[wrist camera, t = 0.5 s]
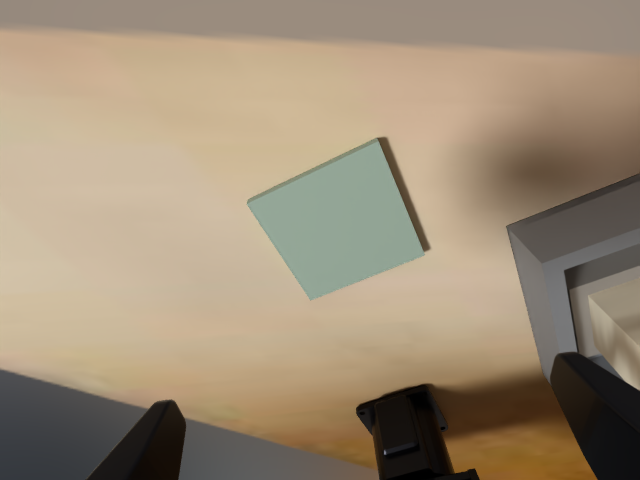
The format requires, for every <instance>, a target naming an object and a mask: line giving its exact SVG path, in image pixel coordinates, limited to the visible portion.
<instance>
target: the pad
mask: <svg viewBox="0 0 640 480" xmlns="http://www.w3.org/2000/svg"><path fill="white" fill-rule="evenodd" d="M247 205H248V207H249V208H250V210H251V211H252V213H253V214H254V216H255V217H256V219H257V220H258V222H259V223H260V225H261V226H262V228H263V229H264V231H265V232H266V234H267V235H268V237H269V239H270V240H271V242H272V243H273V245H274V246H275V248H276V249H277V251H278V252H279V254H280V255H281V257H282V258H283V260H284V261H285V263H286V264H287V266H288V267H289V269H290V270H291V272H292V273H293V275H294V276H295V278H296V279H297V281H298V282H299V284H300V285H301V287H302V288H303V290H304V291H305V293H306V294H307V296H308V297H309V299H310V300H313V299H315V298H318V297H321V296H323V295H326V294H328V293H331V292H333V291H336V290H338V289H341V288H343V287H346V286H348V285H351V284H353V283H356V282H358V281H361V280H364V279H366V278H369V277H371V276H374V275H376V274H379V273H381V272H384V271H386V270H389V269H391V268H394V267H396V266H399V265H401V264H404V263H406V262H409V261H412V260H414V259H417V258H419V257H422V256H424V255H425V254H424V251H423V249H422V247H421V244H420V242H419V239H418V237H417V234H416V232H415V229H414V227H413V224H412V222H411V220H410V217H409V215H408V212H407V210H406V207H405V205H404V202H403V200H402V197H401V195H400V193H399V190H398V188H397V185H396V183H395V180H394V178H393V175H392V173H391V170H390V168H389V165H388V163H387V161H386V158H385V156H384V153H383V151H382V148H381V146H380V143H379V141H378V139H377V138H375V139H373V140H371V141H369V142H367V143H365V144H363V145H361V146H359V147H357V148H354V149H352V150H350V151H348V152H346V153H344V154H342V155H340V156H338V157H336V158H334V159H331V160H329V161H327V162H325V163H323V164H321V165H319V166H317V167H315V168H313V169H311V170H309V171H306V172H304V173H302V174H300V175H298V176H296V177H294V178H292V179H290V180H288V181H286V182H283V183H281V184H279V185H277V186H275V187H273V188H271V189H269V190H267V191H265V192H263V193H261V194H258V195H256V196H254V197H252V198H250V199H248V201H247Z"/></svg>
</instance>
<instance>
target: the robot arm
mask: <svg viewBox="0 0 640 480" xmlns="http://www.w3.org/2000/svg"><path fill="white" fill-rule="evenodd" d="M550 383H551V386H552V389H553V391H554V393H555V395H556V397H557V400H558V402H559V404H560V406H561V408H562V410H563V412H564V415H565V417H566V419H567V421H568V423H569V425H570V427H571V430H572V432H573V434H574V436H575V438H576V440H577V442H578V445H579V447H580V449H581V451H582V453H583V455H584V456H585V458H586V460H587V462H588V464H589V465H590V467H591V469H592V471H593V472H594V474H595V476H596V477H597V479H598V480H640V390H638V389H636V388H635V387H633V386H632V385H630V384H628V383H627V382H625V381H624V380H622V379H620V378H619V377H617V376H616V375H614V374H612V373H611V372H609V371H607V370H606V369H604V368H603V367H601V366H599V365H598V364H596V363H595V362H593V361H591V360H590V359H588V358H587V357H585V356H583V355H582V354H580V353H578V352H573V351H571V352H563V353H558V354H557V355H555V358H554V362H553V366H552V369H551V373H550ZM356 414H357V416H358V417H359V418H360V420H361V421H362V423H363V424H364V425H365V427H366V428H367V429H368V431H369V432H370V433H371V435H372V436H373V441H374V447H375V454H376V460H377V467H378V473H379V480H480V479H479V477H478V475H477V472H476V470H475V468H474V469H469V470H468V471H466V472H460V473H455V472H454V469H453V466H452V463H451V460H450V457H449V454H448V451H447V447H446V444H445V441H444V438H443V435H442V432H443V431H446V430H447V429H448V425H447V422H446V420H445V418H444V417H443V415H442V413H441V411H440V409H439V407H438V405H437V403H436V401H435V399H434V397H433V396H432V394H431V392H430V390H429V388H428V387H427V386H421V387H417V388H414V389H411V390H408V391H405V392H402V393H399V394H395V395H392V396H389V397H386V398H383V399H380V400H377V401H373V402H370V403H367V404H364V405H361V406H358V407H357V408H356ZM185 431H186V422H185V418H184V417H183V415H182V413H181V411H180V409H179V408H178V406H177V404H176V402H175V401H174V400H162V401H157V402H155V403H154V404H153V405H152V406H151V407H150V408H149V409H148V410H147V412H146V413H145V414H144V415H143V416H142V417H141V418H140V419H139V421H138V422H137V423H136V424H135V425H134V426H133V427H132V428H131V429H130V431H129V432H128V433H127V434H126V435H125V436H124V437H123V438H122V440H121V441H120V442H119V443H118V444H117V445H116V446H115V447H114V448H113V450H112V451H111V452H110V453H109V454H108V455H107V456H106V457H105V459H104V460H103V461H102V462H101V463H100V464H99V465H98V466H97V467H96V469H95V470H94V471H93V472H92V473H91V474H90V475H89V476H88V478H87V479H86V480H178V479H179V472H180V465H181V459H182V452H183V445H184V438H185Z"/></svg>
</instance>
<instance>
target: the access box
mask: <svg viewBox="0 0 640 480" xmlns="http://www.w3.org/2000/svg"><path fill="white" fill-rule="evenodd" d="M506 227H507V231H508V235H509V239H510V243H511V247H512V251H513V255H514V259H515V263H516V267H517V271H518V275H519V279H520V283H521V287H522V291H523V295H524V299H525V303H526V307H527V311H528V315H529V319H530V323H531V327H532V331H533V335H534V339H535V343H536V347H537V351H538V355H539V359H540V363H541V367H542V371H543V374H544V376H545V377H546V379H547V380H548V382H549V383H550V373H551V369H552V366H553V362H554V358H555V355H557V354H558V353H563V352H571V351H573V352H578V353H580V354H582V355H583V356H585V357H587V358H588V359H590V360H591V361H593V362H595V363H596V364H598V365H599V366H601V367H603V368H604V369H606V370H607V371H609V372H611V373H612V374H614V375H616V376H617V377H619V378H620V379H622V380H623V378H622V377H621V376H620V375H619V374H618V373H617V371H616V370H615V369H614V368H613V367H612V366H611V365H610V363H609V362H608V361H607V360H606V359H605V358H604V356H603V355H602V354H601V353H600V352H599V351H598V350H597V348H596V347H595V346H594V339H593V331H592V323H591V315H590V307H589V299H588V295H591V294H594V293H597V292H599V291H602V290H605V289H608V288H611V287H614V286H617V285H620V284H623V283H626V282H629V281H632V280H635V279H638V278H640V174H638V175H635V176H633V177H630V178H628V179H625V180H622V181H620V182H617V183H615V184H612V185H610V186H607V187H605V188H602V189H600V190H597V191H595V192H592V193H589V194H587V195H584V196H582V197H579V198H577V199H574V200H572V201H569V202H567V203H564V204H562V205H559V206H556V207H554V208H551V209H549V210H546V211H544V212H541V213H539V214H536V215H534V216H531V217H529V218H526V219H523V220H521V221H518V222H516V223H513V224H511V225H508V226H506ZM550 385H551V383H550Z"/></svg>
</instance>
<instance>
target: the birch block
mask: <svg viewBox="0 0 640 480" xmlns="http://www.w3.org/2000/svg"><path fill="white" fill-rule="evenodd" d="M588 299H589V307H590V315H591V323H592V331H593V339H594V346H595V347H596V348H597V350H598V351H599V352H600V353H601V354H602V355H603V356H604V358H605V359H606V360H607V361H608V362H609V363H610V365H611V366H612V367H613V368H614V369H615V370H616V371H617V373H618V374H619V375H620V376H621V377H622V378H623V380H624V381H625V382H627V383H628V384H630V385H632V386H633V387H635V388H636V389H638V390H640V278H638V279H635V280H632V281H629V282H626V283H623V284H620V285H617V286H614V287H611V288H608V289H605V290H602V291H599V292H597V293H594V294H591V295H588Z"/></svg>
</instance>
